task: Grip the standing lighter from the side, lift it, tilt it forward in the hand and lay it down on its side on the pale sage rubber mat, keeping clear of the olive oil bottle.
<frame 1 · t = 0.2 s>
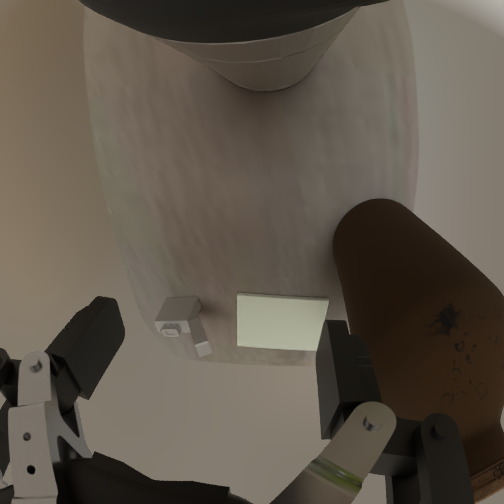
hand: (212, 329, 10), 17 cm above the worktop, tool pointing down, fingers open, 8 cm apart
olive oil: (376, 242, 27), on the worktop
mat: (280, 322, 32), on the worktop
lighter: (195, 301, 32), on the worktop
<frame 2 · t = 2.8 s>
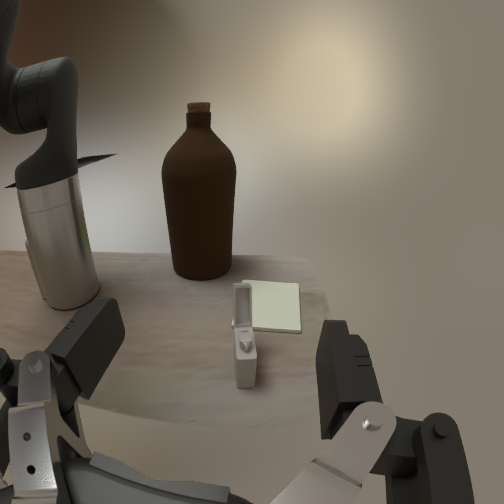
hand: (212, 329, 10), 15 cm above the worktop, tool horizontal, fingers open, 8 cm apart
olive oil: (203, 266, 45), on the worktop
mat: (268, 305, 36), on the worktop
lighter: (243, 362, 28), on the worktop
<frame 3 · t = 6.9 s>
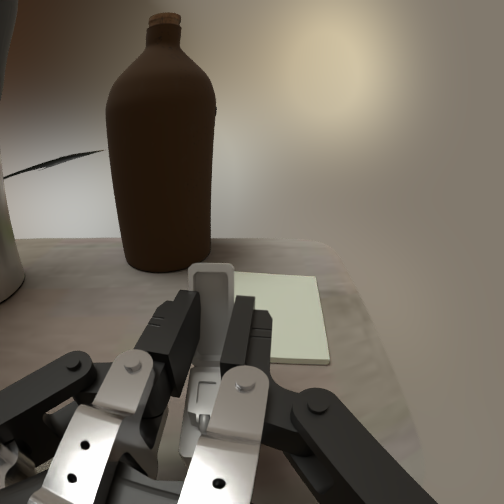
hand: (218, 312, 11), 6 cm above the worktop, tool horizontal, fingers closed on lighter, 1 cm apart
olive oil: (168, 253, 30), on the worktop
mat: (267, 312, 21), on the worktop
lighter: (218, 429, 12), on the worktop, touching gripper
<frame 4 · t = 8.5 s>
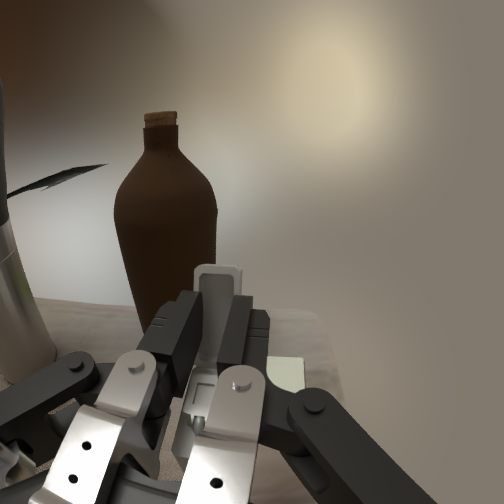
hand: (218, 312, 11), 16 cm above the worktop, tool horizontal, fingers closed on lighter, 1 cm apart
olive oil: (180, 328, 34), on the worktop
mat: (263, 394, 25), on the worktop
lighter: (219, 430, 12), point 10 cm above the worktop, touching gripper
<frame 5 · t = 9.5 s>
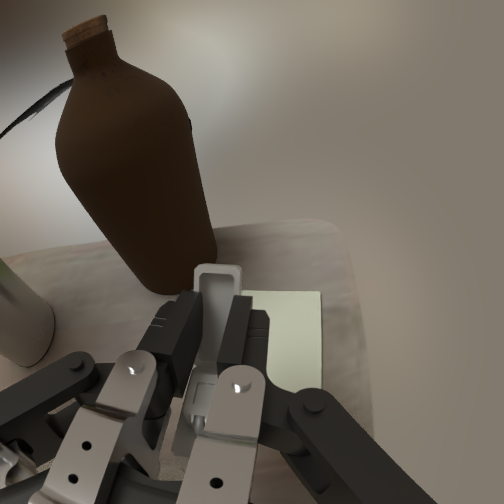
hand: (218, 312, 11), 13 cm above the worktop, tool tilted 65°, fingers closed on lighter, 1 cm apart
olive oil: (177, 258, 30), on the worktop
mat: (274, 344, 23), on the worktop
lighter: (219, 430, 12), point 9 cm above the worktop, touching gripper
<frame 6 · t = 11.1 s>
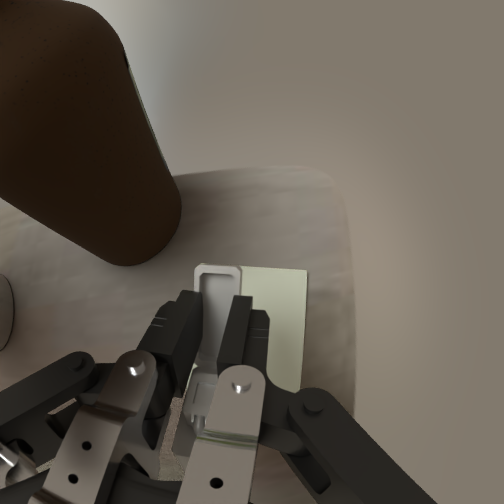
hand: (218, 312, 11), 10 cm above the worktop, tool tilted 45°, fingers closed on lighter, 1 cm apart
olive oil: (134, 216, 24), on the worktop
mat: (247, 334, 20), on the worktop
lighter: (219, 430, 12), point 7 cm above the worktop, touching gripper
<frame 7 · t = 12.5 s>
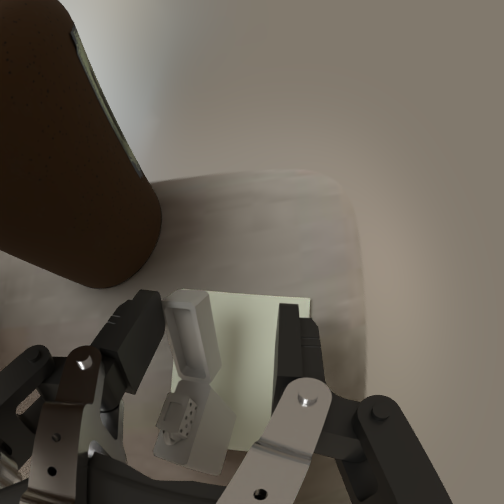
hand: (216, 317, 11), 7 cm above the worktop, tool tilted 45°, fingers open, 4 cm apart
olive oil: (110, 230, 20), on the worktop
mat: (238, 374, 16), on the worktop
lighter: (221, 420, 14), point 1 cm above the worktop, touching mat
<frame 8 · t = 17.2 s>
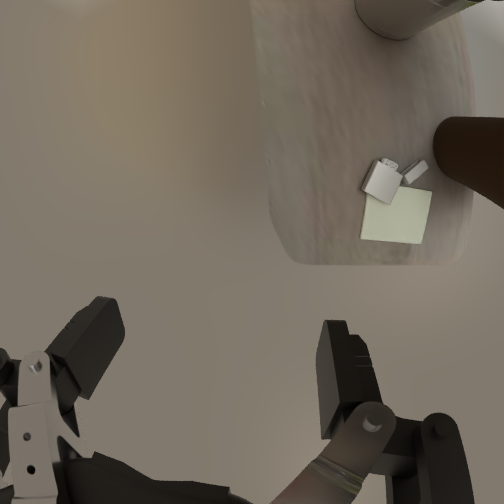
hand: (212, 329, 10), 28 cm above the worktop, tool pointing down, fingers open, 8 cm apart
olive oil: (457, 148, 30), on the worktop
mat: (396, 213, 35), on the worktop
lighter: (383, 203, 33), point 2 cm above the worktop, touching mat
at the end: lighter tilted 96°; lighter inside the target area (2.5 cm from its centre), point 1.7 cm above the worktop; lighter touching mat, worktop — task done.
